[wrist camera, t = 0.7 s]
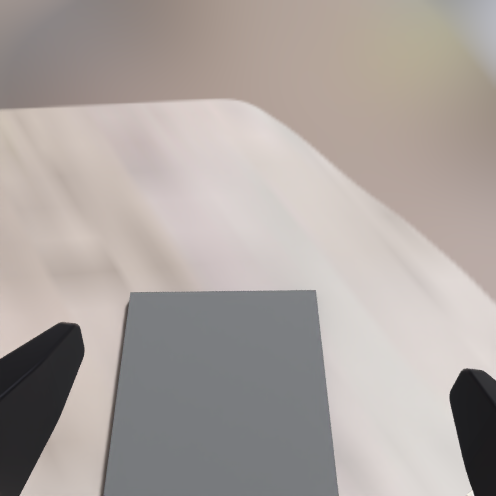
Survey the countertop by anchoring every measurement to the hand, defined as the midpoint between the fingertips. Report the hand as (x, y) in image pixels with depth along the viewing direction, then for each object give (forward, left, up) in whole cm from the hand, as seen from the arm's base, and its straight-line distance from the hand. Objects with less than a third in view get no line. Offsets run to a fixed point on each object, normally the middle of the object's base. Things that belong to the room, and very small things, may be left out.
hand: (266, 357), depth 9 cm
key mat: (0, +2, -14) cm, 15 cm away
